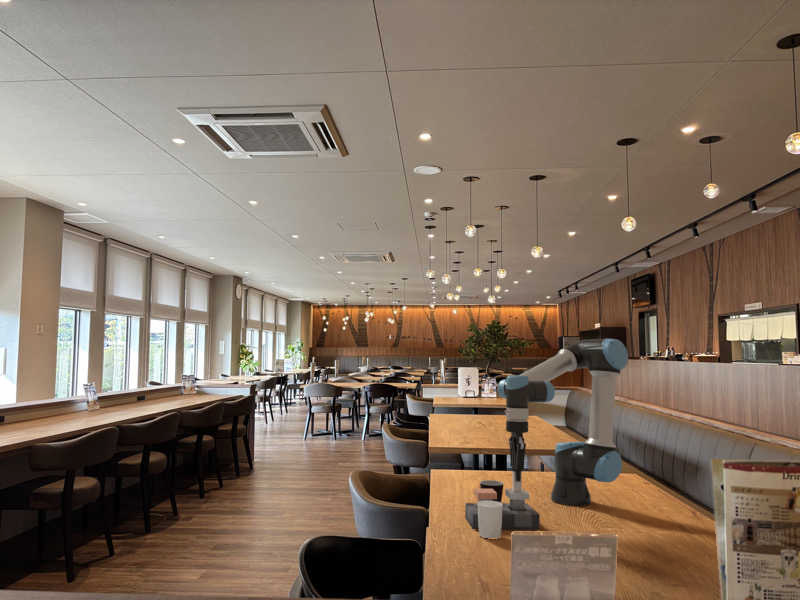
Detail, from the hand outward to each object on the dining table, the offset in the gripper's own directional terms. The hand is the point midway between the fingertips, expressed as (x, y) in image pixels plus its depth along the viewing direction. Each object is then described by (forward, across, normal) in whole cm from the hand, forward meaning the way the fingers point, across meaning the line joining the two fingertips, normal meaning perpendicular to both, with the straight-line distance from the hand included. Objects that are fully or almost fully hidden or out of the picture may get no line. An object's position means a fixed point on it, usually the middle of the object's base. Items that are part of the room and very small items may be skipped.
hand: (517, 490), depth 190 cm
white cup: (+11, +14, -12) cm, 22 cm away
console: (+11, 0, -5) cm, 12 cm away
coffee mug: (+11, -18, -4) cm, 22 cm away
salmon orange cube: (+6, 0, -11) cm, 13 cm away
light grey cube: (+6, 0, 0) cm, 6 cm away
